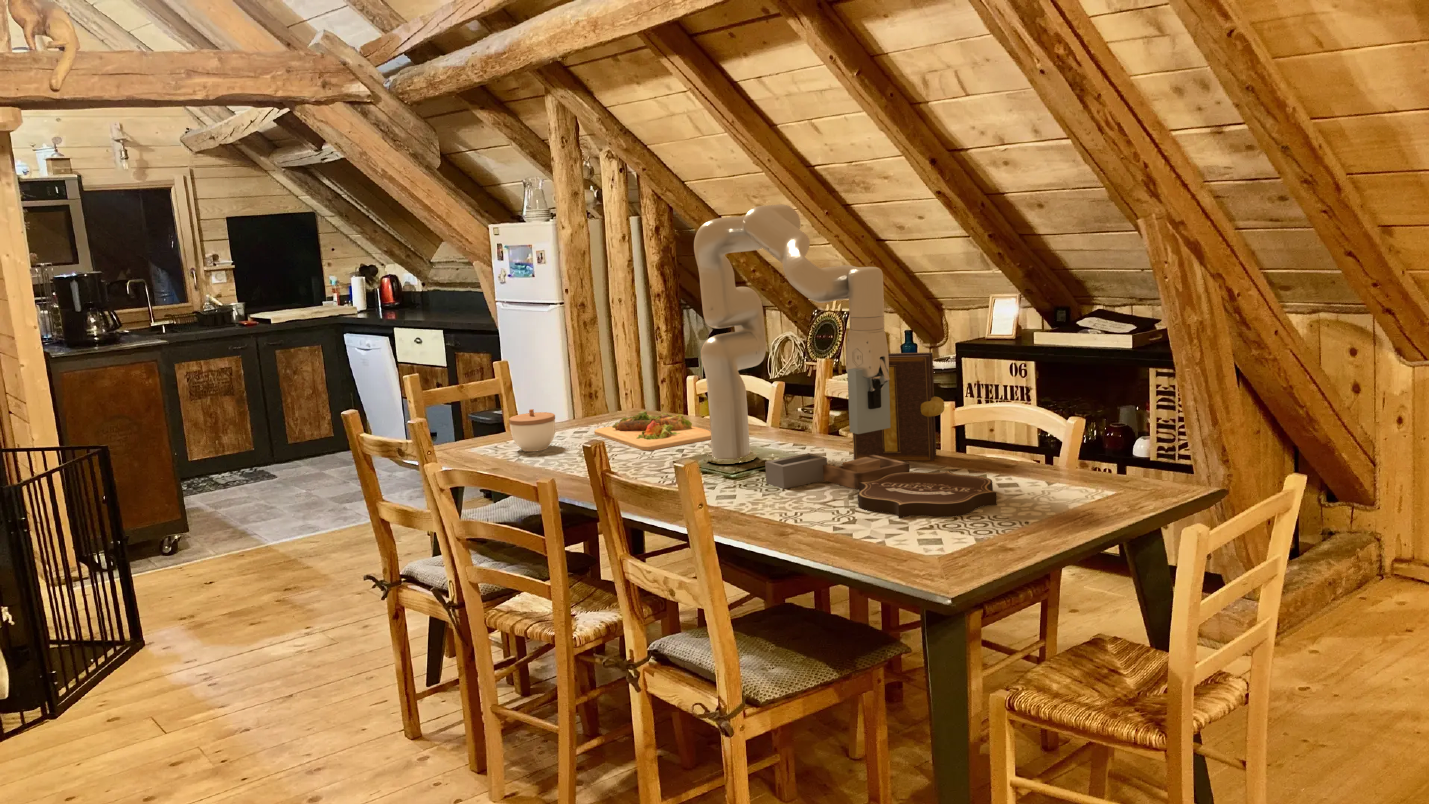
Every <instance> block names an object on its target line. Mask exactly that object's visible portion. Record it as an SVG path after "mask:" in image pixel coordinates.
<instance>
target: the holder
mask: <svg viewBox="0 0 1429 804" xmlns="http://www.w3.org/2000/svg"><path fill="white" fill-rule="evenodd" d="M764 463H765V466H764V467H765V468H764V469H765V480H766V484H768V485H771V486H774V487H777V488H781V489H789V488H790V489H791V488H794V487H799V486H803V485H804V486H805V485H807V484H812V483H813V484H814V483H817V482H821V481H825V480H824V476H823V465H826V464H828V458H827V457H825V456H822V455H818V454H813V453H809V452H807V453H806V452H805V453H802V454H797V455H793V456H788V457H783V458H777V459H773V460H767V461H765V462H764Z"/></svg>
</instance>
